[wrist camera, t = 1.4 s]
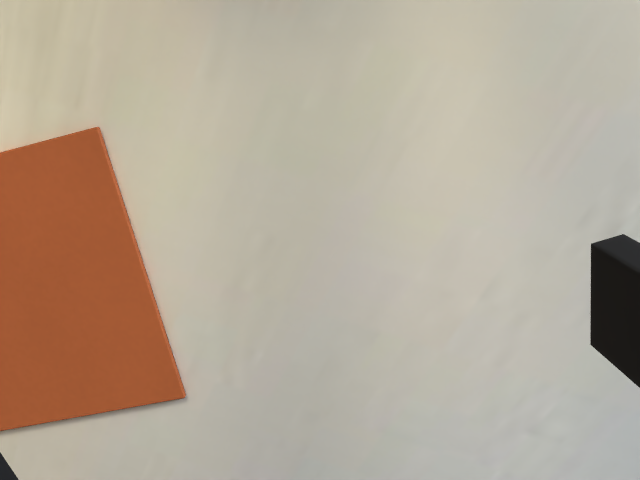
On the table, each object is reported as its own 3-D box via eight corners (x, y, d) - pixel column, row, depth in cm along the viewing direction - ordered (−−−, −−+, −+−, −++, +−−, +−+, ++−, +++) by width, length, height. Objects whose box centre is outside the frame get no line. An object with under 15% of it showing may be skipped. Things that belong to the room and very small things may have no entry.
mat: (-153, 194, 37) (-159, 194, 37) (99, 126, 35) (96, 127, 34) (-48, 437, 41) (-52, 440, 41) (186, 395, 39) (184, 398, 38)
